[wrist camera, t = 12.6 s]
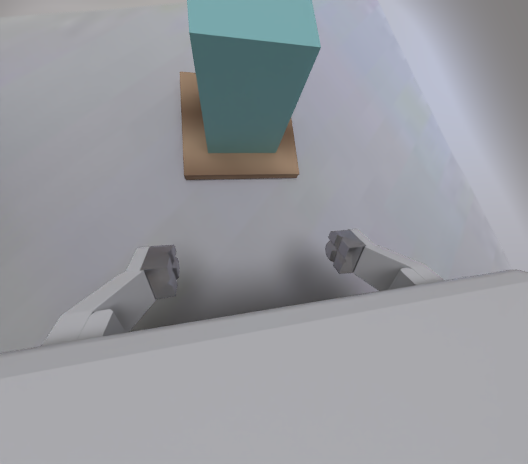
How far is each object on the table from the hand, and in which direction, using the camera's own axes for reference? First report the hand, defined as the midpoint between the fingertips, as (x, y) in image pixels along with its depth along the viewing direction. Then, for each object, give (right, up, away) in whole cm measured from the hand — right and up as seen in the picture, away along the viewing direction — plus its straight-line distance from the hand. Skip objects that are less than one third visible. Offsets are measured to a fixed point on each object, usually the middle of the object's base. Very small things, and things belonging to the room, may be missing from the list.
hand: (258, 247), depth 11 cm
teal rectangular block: (-2, +11, +8) cm, 13 cm away
